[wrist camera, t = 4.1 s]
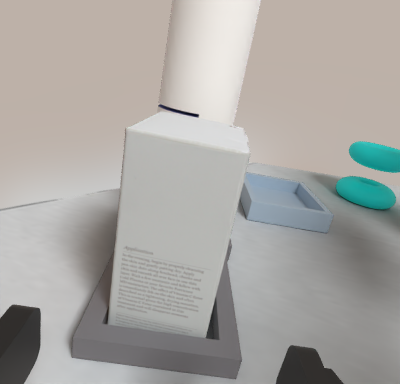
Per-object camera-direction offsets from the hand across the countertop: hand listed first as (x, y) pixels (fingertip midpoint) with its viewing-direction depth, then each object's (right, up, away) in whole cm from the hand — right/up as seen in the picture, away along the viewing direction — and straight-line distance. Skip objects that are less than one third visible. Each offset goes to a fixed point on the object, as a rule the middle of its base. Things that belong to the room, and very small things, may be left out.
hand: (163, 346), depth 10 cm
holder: (-1, -1, +18) cm, 18 cm away
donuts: (+31, +3, +47) cm, 56 cm away
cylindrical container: (-1, +1, +23) cm, 23 cm away
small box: (-1, -3, +13) cm, 14 cm away
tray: (+12, +3, +36) cm, 38 cm away
